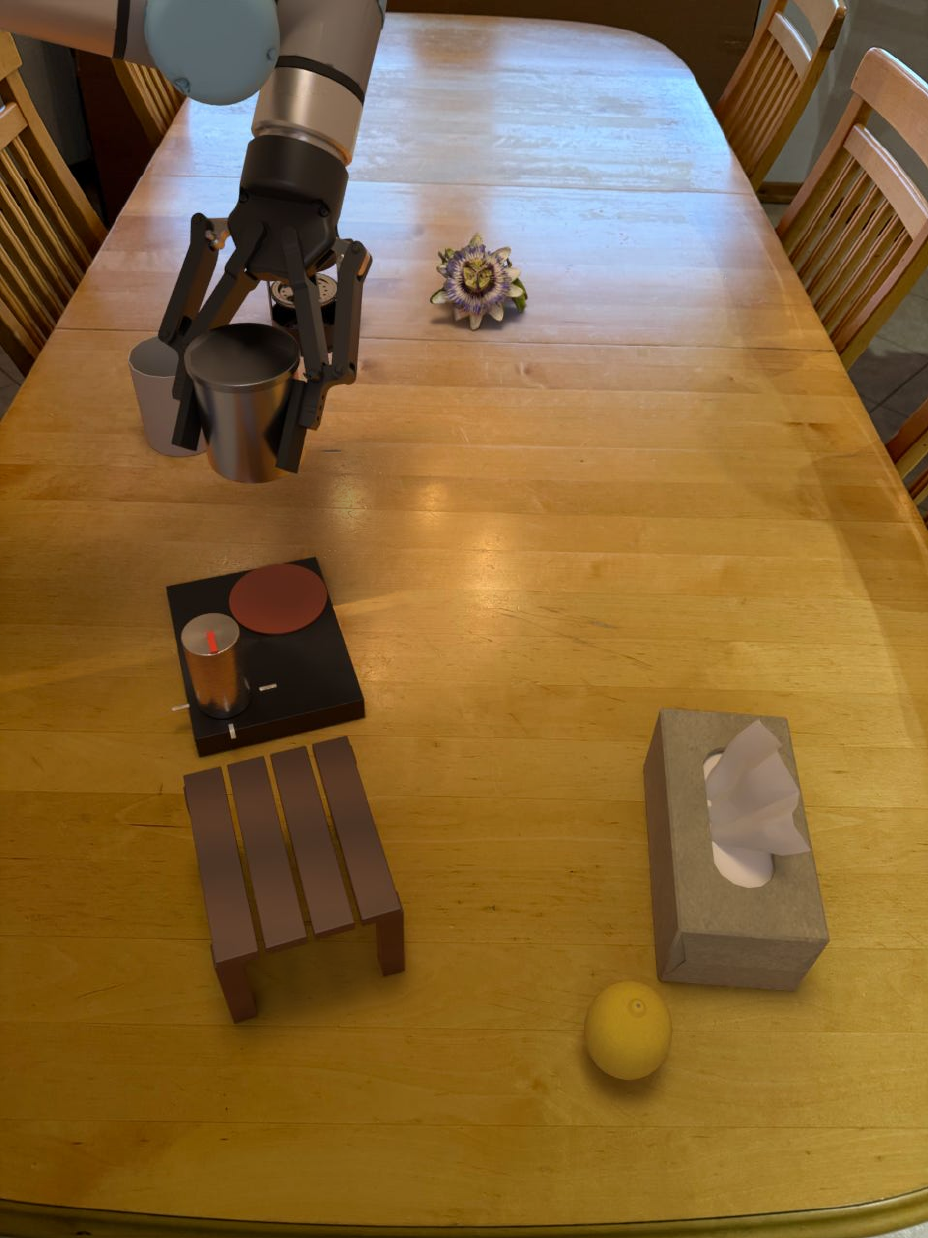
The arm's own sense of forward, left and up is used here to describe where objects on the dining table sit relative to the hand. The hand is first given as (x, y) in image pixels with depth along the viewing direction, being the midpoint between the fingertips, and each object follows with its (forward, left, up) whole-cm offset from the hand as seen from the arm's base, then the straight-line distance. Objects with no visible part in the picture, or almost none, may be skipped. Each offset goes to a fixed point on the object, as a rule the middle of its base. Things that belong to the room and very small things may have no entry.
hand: (234, 458), depth 74 cm
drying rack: (+26, -3, -21) cm, 34 cm away
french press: (-49, +15, -21) cm, 56 cm away
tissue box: (+32, +28, -21) cm, 48 cm away
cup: (-33, -3, -21) cm, 40 cm away
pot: (-3, +2, -2) cm, 4 cm away
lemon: (+43, +15, -21) cm, 50 cm away
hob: (+2, -1, -21) cm, 21 cm away
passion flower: (-49, +37, -21) cm, 66 cm away
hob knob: (+7, -5, -19) cm, 20 cm away
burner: (-3, +2, -19) cm, 19 cm away
